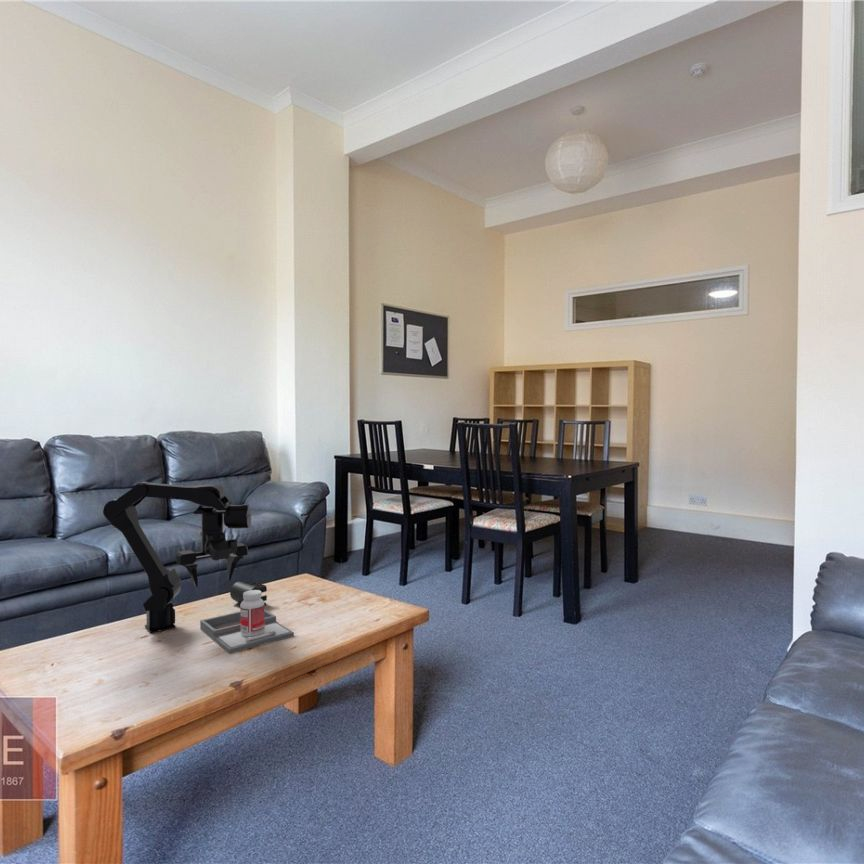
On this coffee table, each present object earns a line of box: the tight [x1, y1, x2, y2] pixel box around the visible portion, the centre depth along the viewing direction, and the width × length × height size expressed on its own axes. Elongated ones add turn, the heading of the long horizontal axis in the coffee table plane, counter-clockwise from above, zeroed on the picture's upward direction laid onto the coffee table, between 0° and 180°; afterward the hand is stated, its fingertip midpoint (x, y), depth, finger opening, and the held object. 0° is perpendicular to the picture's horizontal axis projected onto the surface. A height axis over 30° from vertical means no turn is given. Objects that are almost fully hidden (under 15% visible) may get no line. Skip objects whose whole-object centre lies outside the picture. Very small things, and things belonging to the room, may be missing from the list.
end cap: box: [229, 580, 268, 606], centre depth 179 cm, size 10×7×7 cm
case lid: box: [213, 620, 295, 654], centre depth 151 cm, size 18×11×1 cm, turn 131°
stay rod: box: [245, 631, 276, 642], centre depth 148 cm, size 8×1×1 cm, turn 131°
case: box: [199, 608, 277, 641], centre depth 160 cm, size 18×11×3 cm, turn 131°
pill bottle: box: [239, 590, 265, 637], centre depth 152 cm, size 6×6×11 cm
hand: (212, 583), depth 161 cm, fingers open, 9 cm apart
